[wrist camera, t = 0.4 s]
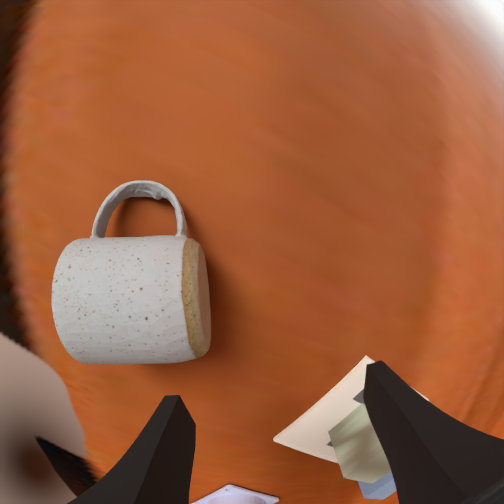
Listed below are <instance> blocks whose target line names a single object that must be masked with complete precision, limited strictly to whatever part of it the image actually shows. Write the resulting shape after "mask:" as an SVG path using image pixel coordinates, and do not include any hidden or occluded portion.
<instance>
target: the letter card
mask: <svg viewBox="0 0 504 504" xmlns="http://www.w3.org/2000/svg"><path fill="white" fill-rule="evenodd" d="M374 362H375V361H374V360H372V359H371V358H369V357H368V356H367V355H366V356H365V357H364V358H363V359H362V360H361V361H360V362H359V363H358V364H357V365H356V366H355V367H354V368H353V369H352V370H351V371H350V372H349V373H348V374H347V375H346V376H345V377H344V378H343V379H342V380H341V381H340V382H339V383H338V384H337V385H336V386H334V387H333V388H332V389H331V390H330V391H329V392H328V393H327V394H326V395H325V396H324V397H322V398H321V399H320V400H319V401H318V402H317V403H316V404H314V405H313V406H312V407H311V408H310V409H309V410H307V411H306V412H305V413H304V414H303V415H302V416H300V417H299V418H298V419H297V420H295V421H294V422H293V423H292V424H290V425H289V426H288V427H287V428H285V429H284V430H283V431H282V432H280V433H279V434H278V435H276V436H275V437H274V438H273V441H275V442H277V443H280V444H282V445H285V446H288V447H290V448H293V449H296V450H299V451H301V452H304V453H307V454H310V455H313V456H316V457H319V458H322V459H325V460H329V461H332V462H335V463H339V462H338V460H337V457H336V454H335V451H334V448H333V445H332V442H331V439H330V436H329V433H328V431H329V430H331V429H332V428H333V427H334V426H336V425H337V424H338V423H339V422H341V421H342V420H343V419H344V418H345V417H347V416H348V415H349V414H350V413H351V412H352V411H354V410H355V409H356V408H357V407H358V406H359V405H360V404H361V403H364V399H363V393H364V384H365V375H366V366H367V364H371V363H374ZM410 387H411V386H410ZM411 388H412V387H411ZM413 389H414V388H413ZM414 390H415V389H414ZM415 391H416V390H415ZM416 392H417V393H419V392H418V391H416ZM419 394H420V395H421V396H422V397H424V398H425V399H426V400H427V401H429V399H428V398H427V397H425V396H424V395H422V394H421V393H419ZM364 404H365V403H364Z"/></svg>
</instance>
